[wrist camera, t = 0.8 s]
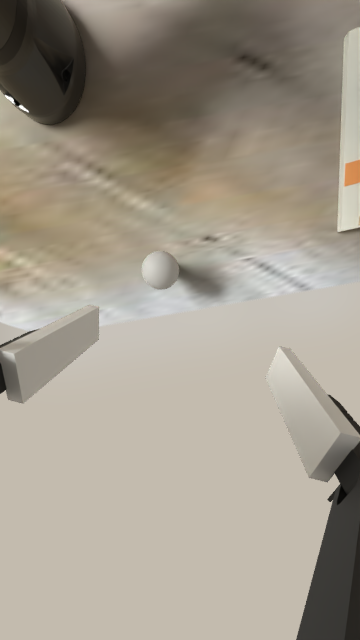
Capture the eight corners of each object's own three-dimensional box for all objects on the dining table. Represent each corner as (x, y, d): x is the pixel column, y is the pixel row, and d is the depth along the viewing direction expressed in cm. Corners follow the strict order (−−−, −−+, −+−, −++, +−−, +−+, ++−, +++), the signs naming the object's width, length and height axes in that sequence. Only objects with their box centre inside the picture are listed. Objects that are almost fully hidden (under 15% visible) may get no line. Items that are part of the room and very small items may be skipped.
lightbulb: (190, 262, 38) (183, 267, 28) (174, 287, 40) (162, 300, 30) (165, 244, 37) (148, 242, 27) (149, 270, 40) (129, 277, 29)
